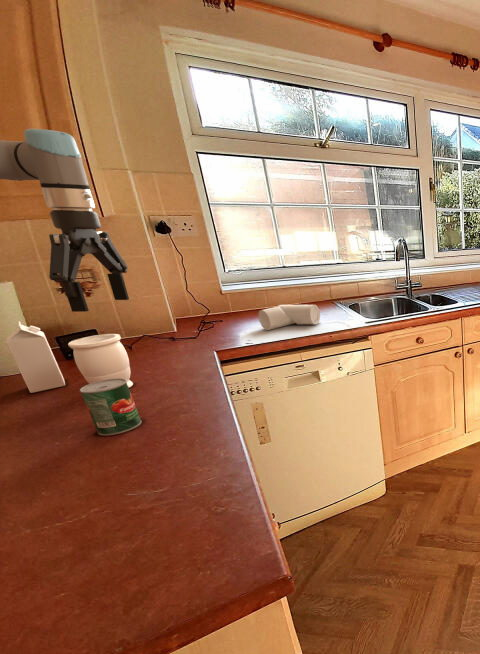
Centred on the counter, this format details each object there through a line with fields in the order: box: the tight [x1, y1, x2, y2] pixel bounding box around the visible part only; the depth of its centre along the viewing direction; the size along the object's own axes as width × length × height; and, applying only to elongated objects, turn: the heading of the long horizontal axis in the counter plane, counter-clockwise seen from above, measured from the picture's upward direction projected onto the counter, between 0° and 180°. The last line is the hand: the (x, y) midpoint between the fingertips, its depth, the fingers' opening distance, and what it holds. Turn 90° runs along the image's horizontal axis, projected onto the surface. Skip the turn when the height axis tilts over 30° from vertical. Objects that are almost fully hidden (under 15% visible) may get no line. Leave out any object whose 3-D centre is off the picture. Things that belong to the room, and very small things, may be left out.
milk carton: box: [6, 320, 66, 394], centre depth 119 cm, size 7×7×19 cm
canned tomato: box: [79, 378, 142, 437], centre depth 98 cm, size 8×8×11 cm
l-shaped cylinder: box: [257, 304, 321, 331], centre depth 179 cm, size 18×11×20 cm
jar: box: [68, 333, 134, 389], centre depth 118 cm, size 11×10×15 cm
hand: (102, 305), depth 100 cm, fingers open, 13 cm apart
